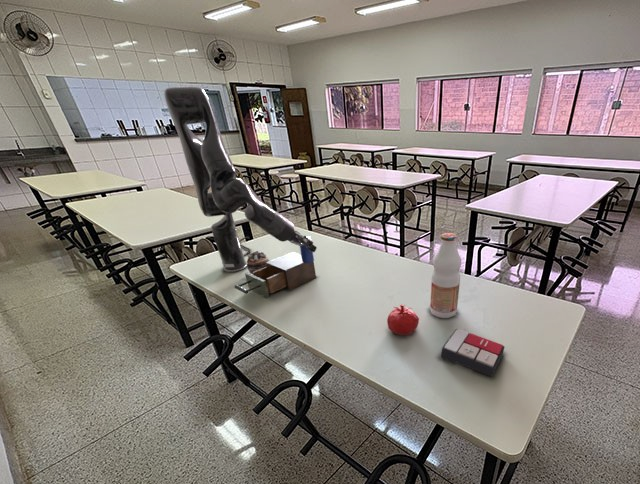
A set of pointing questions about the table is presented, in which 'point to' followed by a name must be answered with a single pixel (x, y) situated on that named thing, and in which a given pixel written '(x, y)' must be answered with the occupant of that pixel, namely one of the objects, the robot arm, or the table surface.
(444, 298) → the fruit juice
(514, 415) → the table surface
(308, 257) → the pepper shaker
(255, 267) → the cupcake
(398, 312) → the pomegranate
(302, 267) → the cabinet
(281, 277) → the drawer
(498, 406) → the table surface
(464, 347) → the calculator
